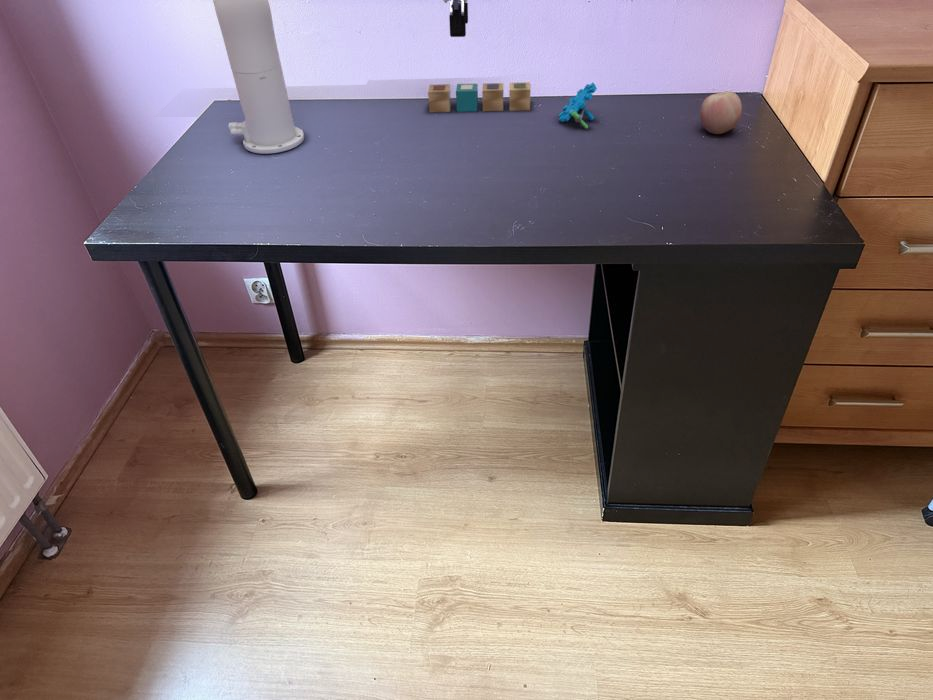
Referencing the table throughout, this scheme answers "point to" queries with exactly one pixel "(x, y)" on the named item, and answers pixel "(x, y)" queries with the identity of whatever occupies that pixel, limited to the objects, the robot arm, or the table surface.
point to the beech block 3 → (519, 96)
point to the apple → (721, 112)
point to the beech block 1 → (439, 98)
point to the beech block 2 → (492, 96)
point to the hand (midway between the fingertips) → (459, 29)
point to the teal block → (467, 97)
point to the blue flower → (579, 106)
